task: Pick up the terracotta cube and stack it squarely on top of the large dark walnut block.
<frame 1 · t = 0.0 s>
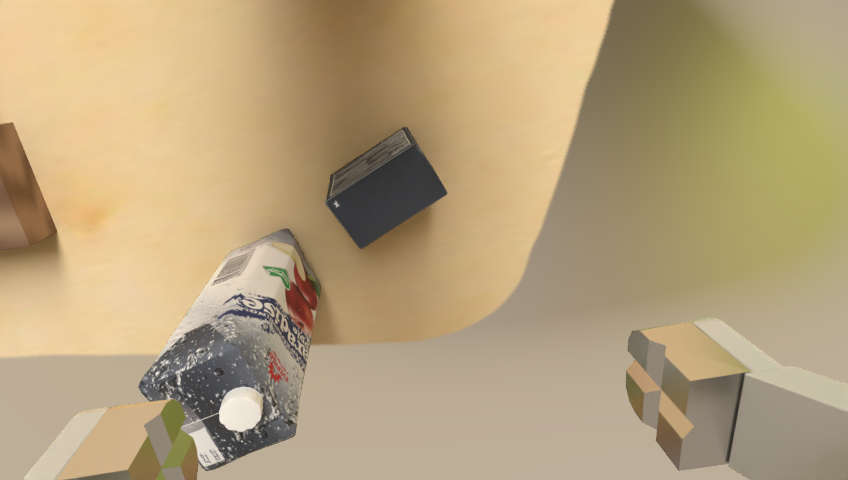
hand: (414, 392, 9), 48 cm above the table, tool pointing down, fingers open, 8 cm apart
small box: (382, 173, 56), on the table
juice carton: (278, 267, 59), on the table
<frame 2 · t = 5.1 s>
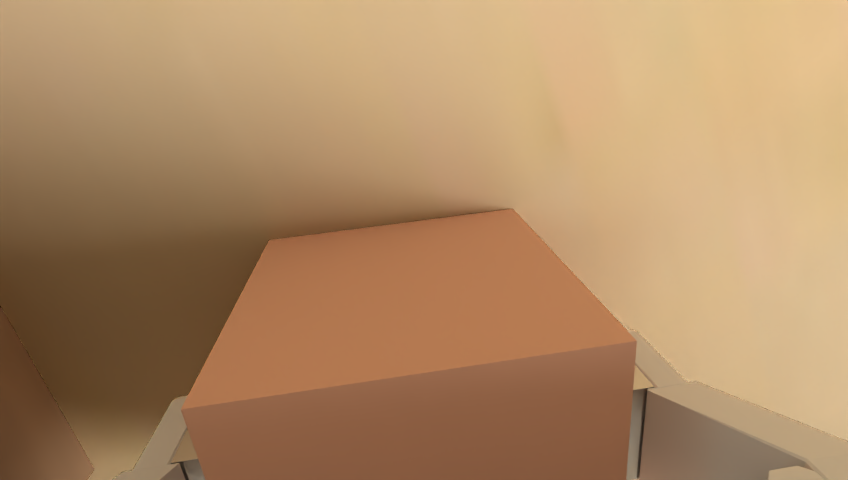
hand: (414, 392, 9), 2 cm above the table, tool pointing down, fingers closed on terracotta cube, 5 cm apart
terracotta cube: (406, 328, 11), on the table, touching gripper
when the fingers open (9 cm above the table, at t = 12.0 s): terracotta cube drops 2 cm, resting on walnut block.
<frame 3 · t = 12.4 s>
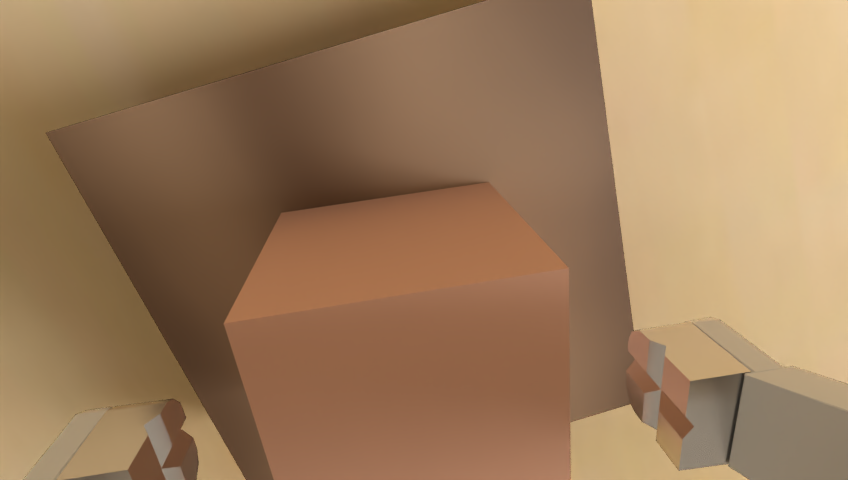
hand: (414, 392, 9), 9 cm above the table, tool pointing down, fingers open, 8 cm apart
walnut block: (389, 226, 17), on the table, touching terracotta cube
terracotta cube: (400, 289, 12), point 5 cm above the table, touching walnut block
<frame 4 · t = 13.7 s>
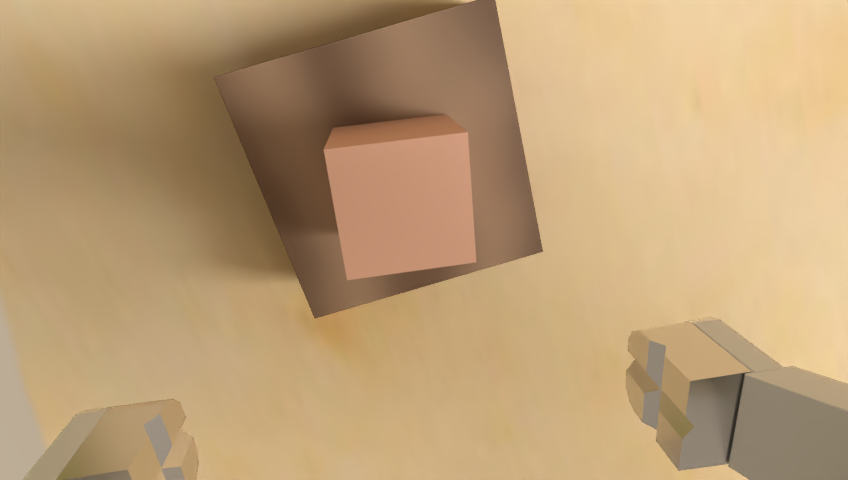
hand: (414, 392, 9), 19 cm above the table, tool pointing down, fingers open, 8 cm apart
walnut block: (390, 151, 27), on the table
terracotta cube: (396, 176, 22), point 5 cm above the table
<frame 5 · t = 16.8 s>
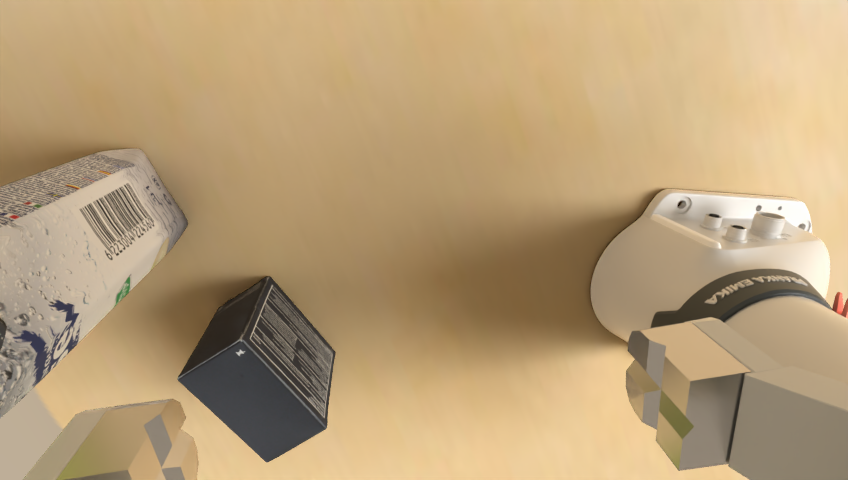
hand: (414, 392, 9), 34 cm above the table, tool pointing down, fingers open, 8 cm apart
small box: (277, 330, 47), on the table
juice carton: (123, 205, 41), on the table
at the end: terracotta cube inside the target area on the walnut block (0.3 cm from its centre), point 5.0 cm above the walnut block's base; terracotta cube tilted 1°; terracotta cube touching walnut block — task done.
